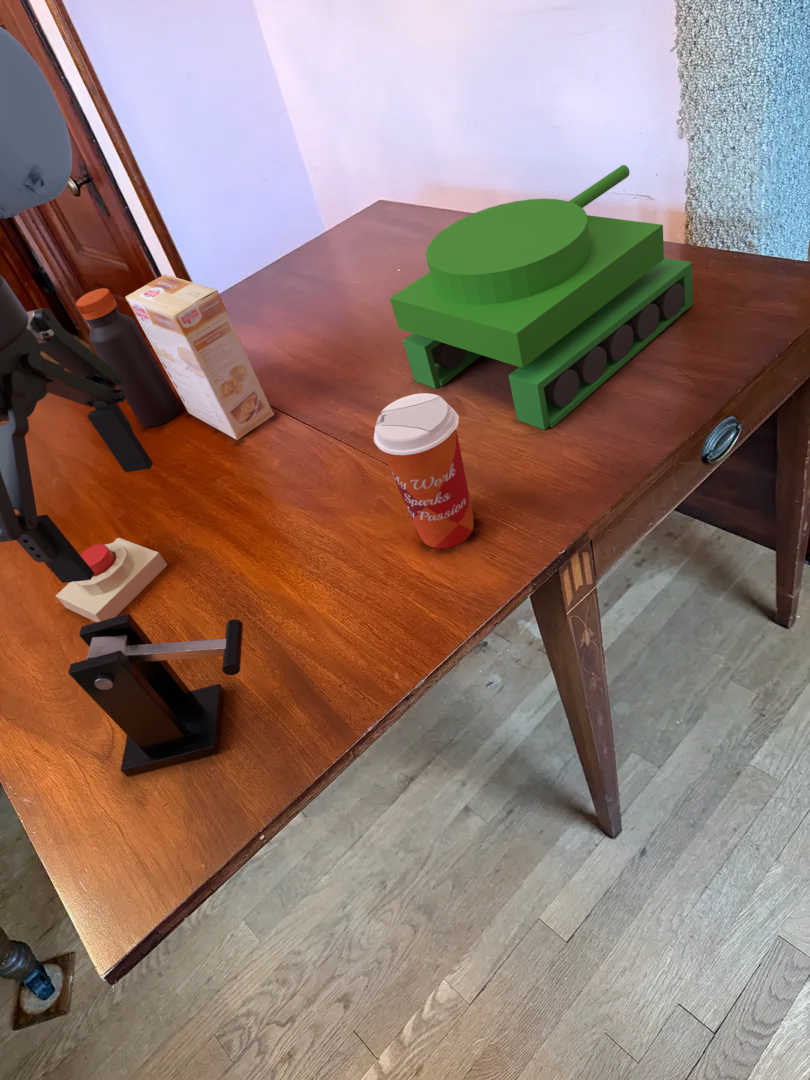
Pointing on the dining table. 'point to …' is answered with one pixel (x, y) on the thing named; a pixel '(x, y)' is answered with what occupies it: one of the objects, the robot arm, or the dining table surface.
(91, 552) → the red button
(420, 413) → the coffee cup
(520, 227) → the tank
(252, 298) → the dining table surface
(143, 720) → the switch bracket
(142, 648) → the switch lever
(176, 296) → the coffeecake box
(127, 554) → the button housing
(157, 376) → the bottle
